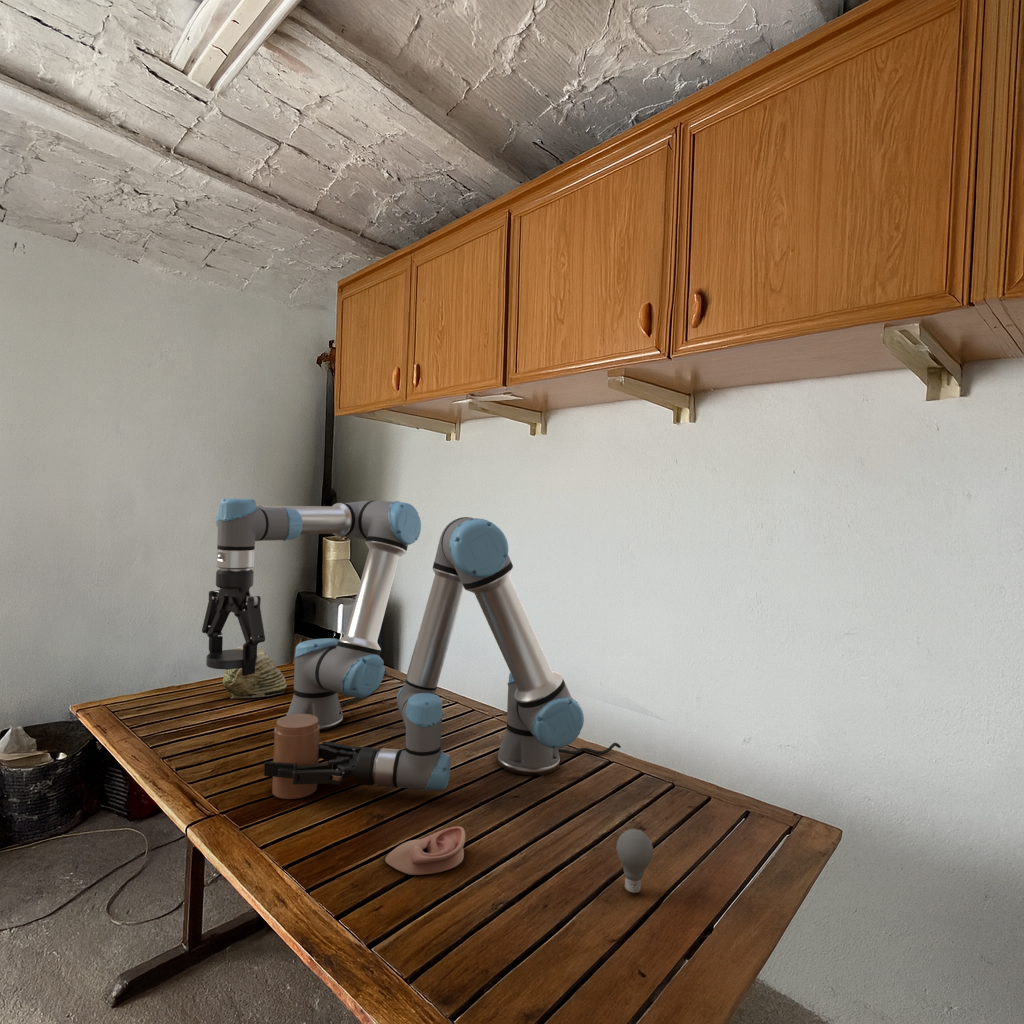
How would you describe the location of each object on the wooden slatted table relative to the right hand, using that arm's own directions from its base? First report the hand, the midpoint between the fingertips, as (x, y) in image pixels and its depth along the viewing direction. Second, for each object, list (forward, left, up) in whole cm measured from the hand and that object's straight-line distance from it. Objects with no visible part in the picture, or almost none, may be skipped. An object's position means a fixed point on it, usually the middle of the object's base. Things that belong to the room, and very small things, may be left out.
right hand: (276, 758), depth 137 cm
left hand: (+10, -6, +18) cm, 22 cm away
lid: (+10, -6, +21) cm, 24 cm away
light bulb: (-56, +54, -6) cm, 78 cm away
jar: (-4, +2, -6) cm, 8 cm away
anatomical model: (-25, +35, -6) cm, 44 cm away
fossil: (+6, -67, -6) cm, 68 cm away
